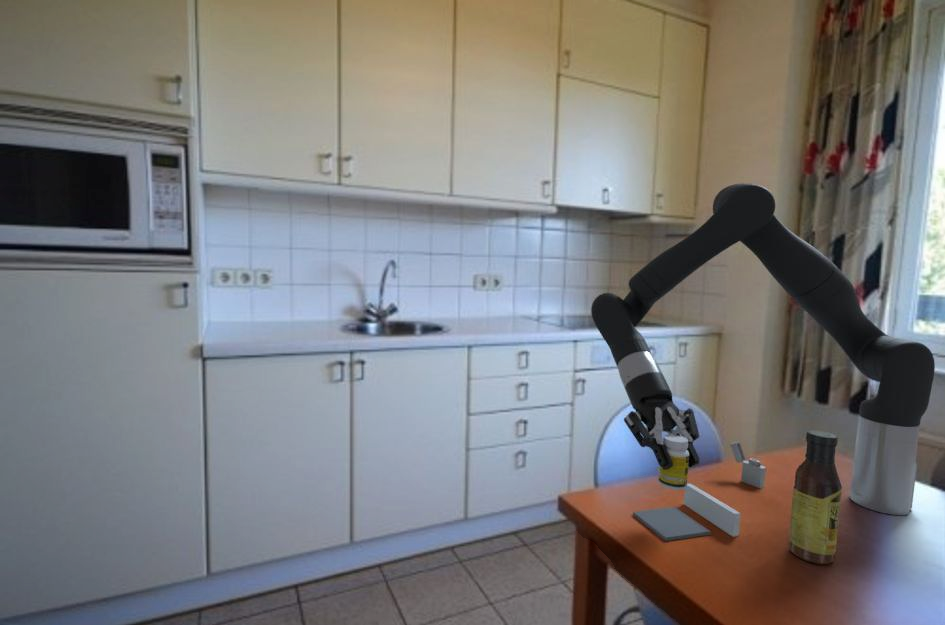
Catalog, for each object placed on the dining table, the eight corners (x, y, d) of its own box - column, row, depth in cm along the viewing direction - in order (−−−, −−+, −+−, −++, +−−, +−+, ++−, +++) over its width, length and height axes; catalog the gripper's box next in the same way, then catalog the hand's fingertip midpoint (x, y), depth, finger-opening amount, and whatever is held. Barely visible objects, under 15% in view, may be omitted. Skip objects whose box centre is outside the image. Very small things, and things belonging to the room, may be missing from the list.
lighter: (764, 486, 106) (768, 449, 105) (760, 488, 105) (764, 451, 104) (730, 474, 112) (734, 439, 111) (727, 476, 111) (730, 441, 110)
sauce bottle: (836, 571, 76) (850, 444, 74) (787, 558, 79) (799, 435, 77) (832, 552, 82) (845, 432, 80) (787, 539, 85) (798, 425, 83)
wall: (688, 503, 97) (690, 483, 96) (738, 535, 85) (740, 513, 85) (683, 504, 96) (685, 484, 96) (732, 536, 85) (734, 514, 85)
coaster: (674, 509, 94) (674, 506, 94) (709, 534, 86) (710, 531, 85) (632, 514, 91) (633, 511, 91) (665, 541, 83) (665, 537, 83)
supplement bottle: (689, 492, 85) (693, 444, 84) (659, 488, 86) (663, 441, 85) (683, 480, 90) (687, 435, 89) (655, 477, 91) (659, 432, 90)
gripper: (620, 371, 91) (657, 460, 81) (685, 369, 95) (729, 454, 85) (602, 392, 97) (635, 478, 86) (664, 389, 101) (703, 472, 91)
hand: (681, 466), depth 86 cm, fingers closed on supplement bottle, 4 cm apart
